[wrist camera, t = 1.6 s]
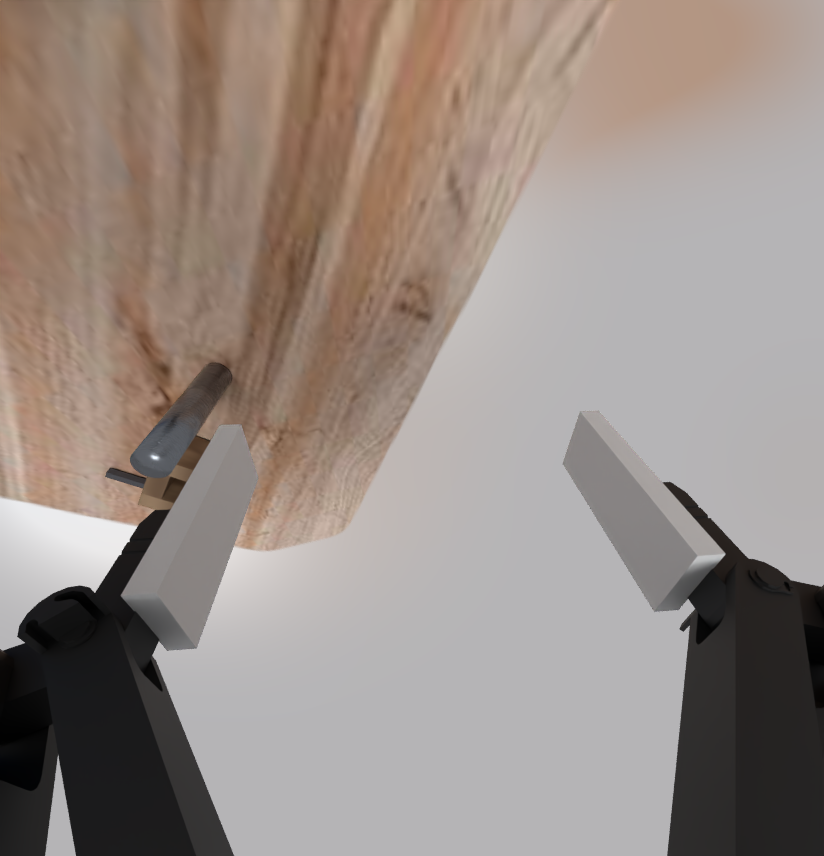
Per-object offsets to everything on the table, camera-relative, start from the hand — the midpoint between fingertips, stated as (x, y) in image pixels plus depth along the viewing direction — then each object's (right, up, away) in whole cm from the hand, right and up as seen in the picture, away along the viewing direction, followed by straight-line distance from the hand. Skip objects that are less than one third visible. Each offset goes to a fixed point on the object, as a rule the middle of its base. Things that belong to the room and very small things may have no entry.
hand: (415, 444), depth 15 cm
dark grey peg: (-20, +6, +24) cm, 32 cm away
